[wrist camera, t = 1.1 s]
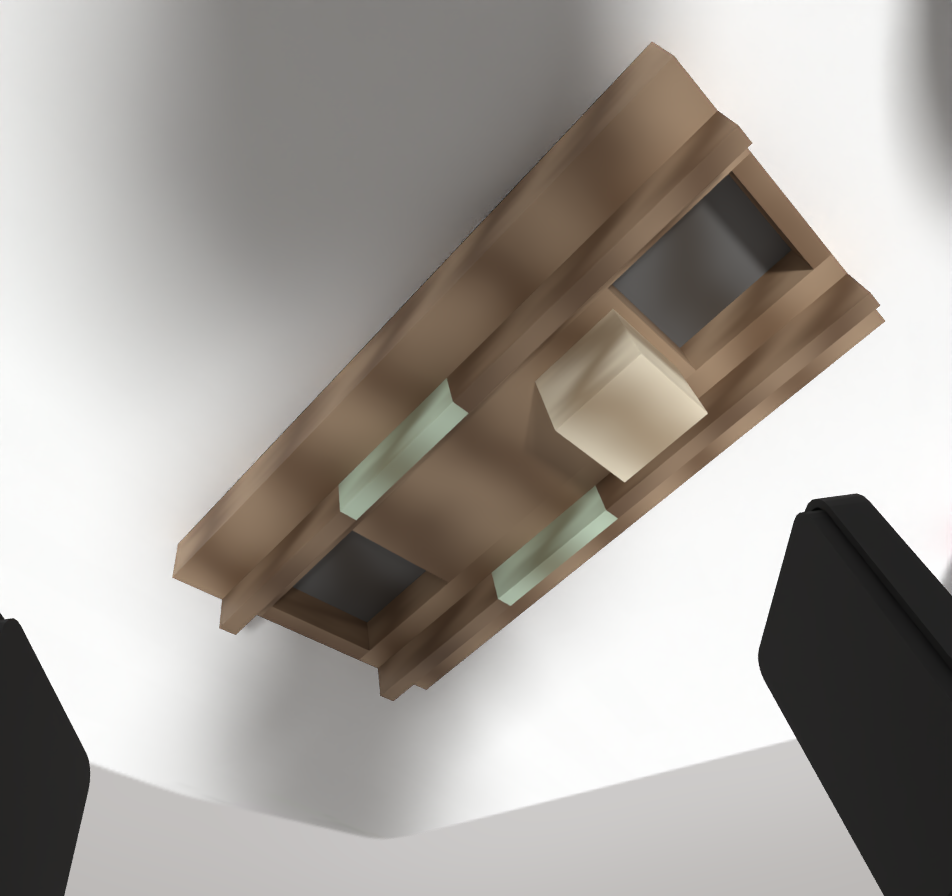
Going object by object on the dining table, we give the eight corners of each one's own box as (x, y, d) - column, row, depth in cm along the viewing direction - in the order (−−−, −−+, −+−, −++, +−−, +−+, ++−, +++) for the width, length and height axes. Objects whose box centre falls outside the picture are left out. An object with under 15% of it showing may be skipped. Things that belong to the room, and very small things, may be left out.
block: (613, 308, 38) (641, 353, 34) (676, 366, 40) (707, 413, 37) (534, 381, 39) (555, 430, 36) (600, 432, 42) (624, 482, 39)
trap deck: (652, 41, 33) (693, 68, 30) (858, 297, 43) (908, 341, 39) (177, 544, 45) (167, 606, 41) (421, 658, 54) (430, 716, 51)
